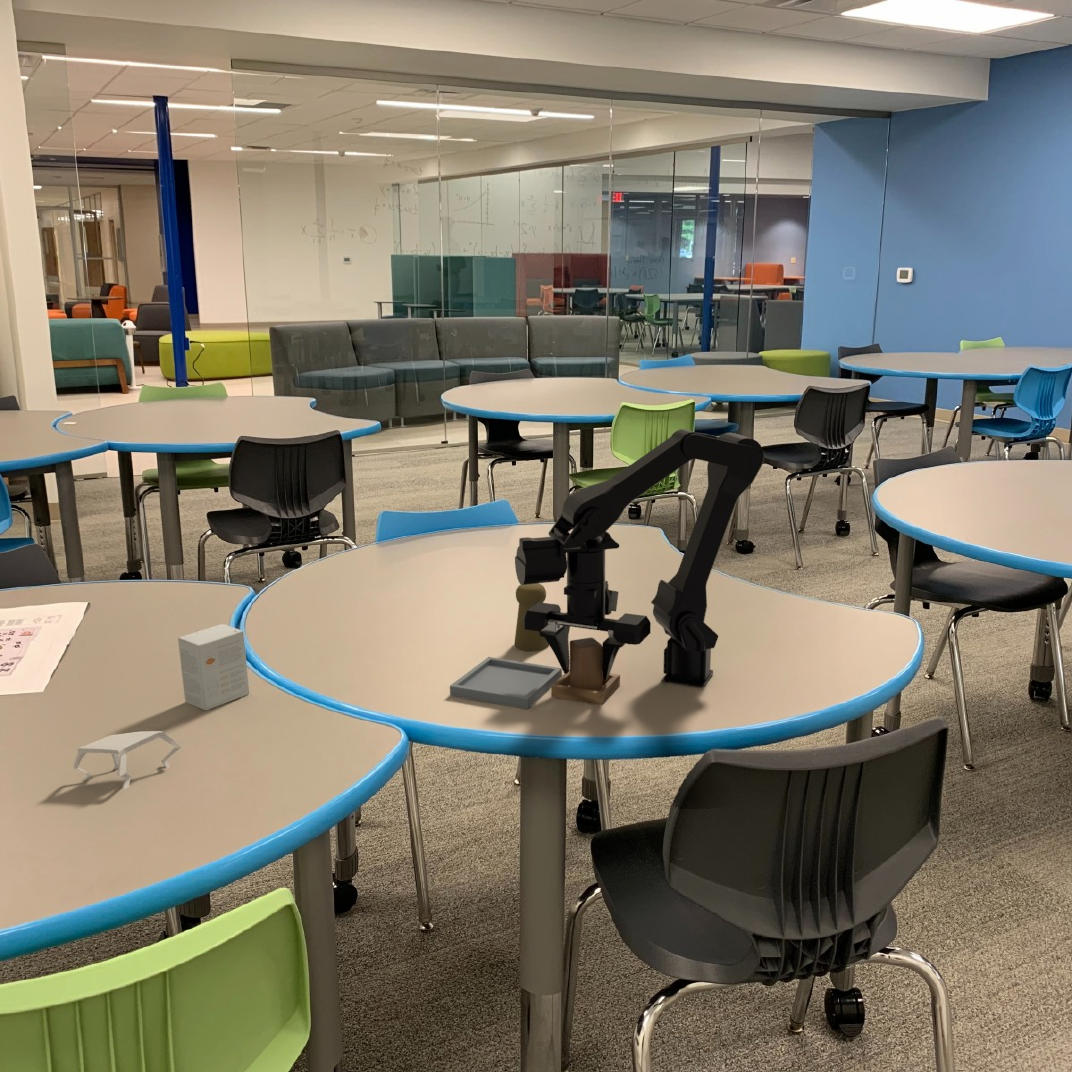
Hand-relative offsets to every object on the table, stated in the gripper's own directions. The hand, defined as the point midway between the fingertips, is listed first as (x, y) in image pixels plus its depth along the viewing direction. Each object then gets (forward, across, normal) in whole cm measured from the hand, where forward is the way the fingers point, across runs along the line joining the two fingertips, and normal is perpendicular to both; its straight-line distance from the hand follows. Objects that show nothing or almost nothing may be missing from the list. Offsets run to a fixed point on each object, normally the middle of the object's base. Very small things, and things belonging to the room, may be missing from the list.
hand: (586, 675), depth 154 cm
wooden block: (+3, 0, 0) cm, 3 cm away
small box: (+3, +51, +24) cm, 56 cm away
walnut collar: (+2, 0, 0) cm, 2 cm away
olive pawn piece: (+3, +16, -15) cm, 22 cm away
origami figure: (+3, +44, +47) cm, 65 cm away
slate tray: (+2, +12, +3) cm, 13 cm away
